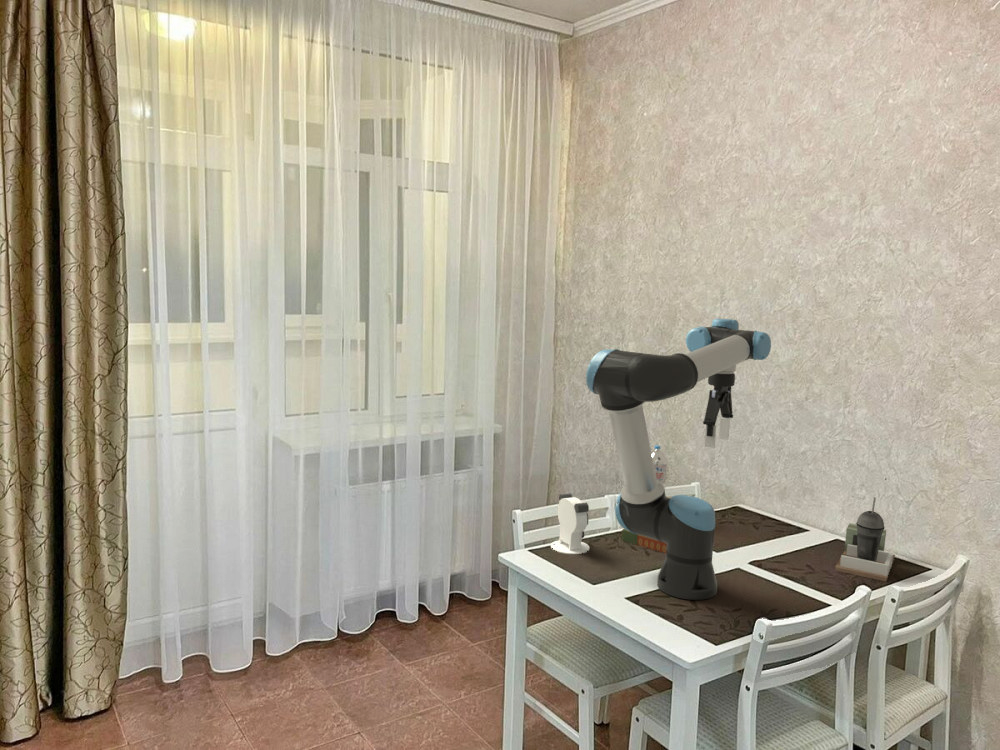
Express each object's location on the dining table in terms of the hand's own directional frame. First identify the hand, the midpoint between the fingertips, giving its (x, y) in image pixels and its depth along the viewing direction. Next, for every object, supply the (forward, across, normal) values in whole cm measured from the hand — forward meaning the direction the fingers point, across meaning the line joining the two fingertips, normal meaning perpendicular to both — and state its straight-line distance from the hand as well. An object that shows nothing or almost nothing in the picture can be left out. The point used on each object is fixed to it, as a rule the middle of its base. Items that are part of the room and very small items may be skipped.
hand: (716, 443), depth 230 cm
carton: (+32, +9, -15) cm, 37 cm away
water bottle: (+32, -13, -23) cm, 41 cm away
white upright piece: (+32, +27, -33) cm, 53 cm away
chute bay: (+32, -10, +42) cm, 54 cm away
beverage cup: (+31, -10, +42) cm, 53 cm away
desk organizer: (+32, -13, +42) cm, 54 cm away
